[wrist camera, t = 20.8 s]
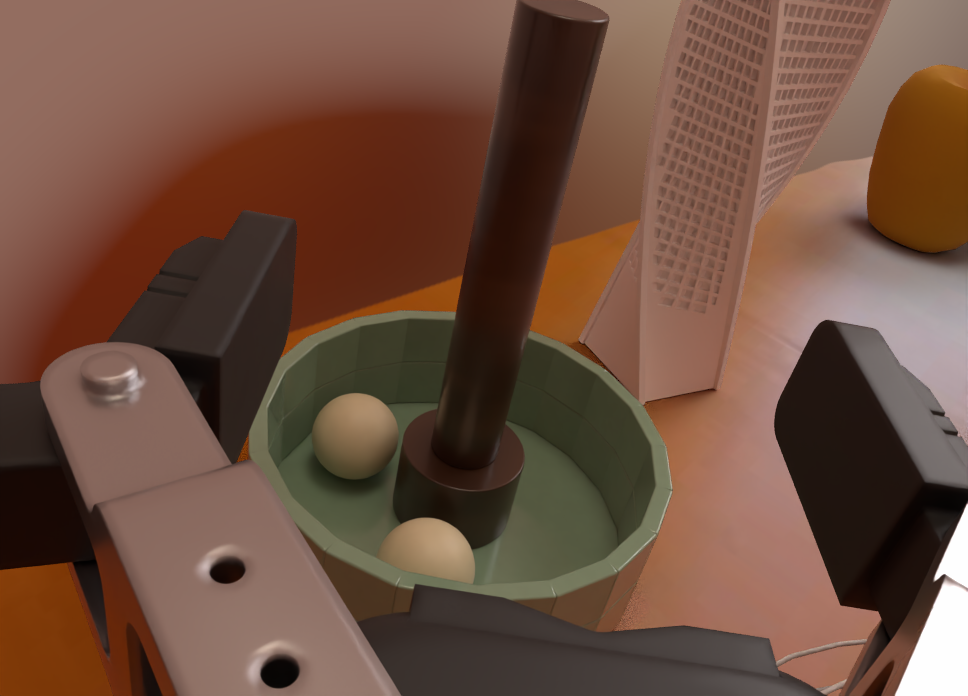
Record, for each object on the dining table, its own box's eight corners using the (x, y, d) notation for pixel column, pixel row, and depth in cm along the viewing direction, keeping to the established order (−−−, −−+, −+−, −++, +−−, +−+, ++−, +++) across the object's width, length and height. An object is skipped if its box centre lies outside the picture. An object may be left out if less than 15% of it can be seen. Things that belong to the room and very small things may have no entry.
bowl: (154, 577, 27) (147, 465, 24) (372, 366, 38) (384, 272, 35) (559, 789, 24) (605, 687, 21) (665, 489, 35) (705, 397, 32)
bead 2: (348, 609, 26) (358, 526, 25) (410, 563, 29) (422, 486, 28) (428, 660, 25) (442, 575, 24) (485, 607, 27) (501, 527, 26)
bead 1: (291, 435, 32) (321, 370, 30) (366, 443, 33) (397, 382, 32) (309, 494, 29) (342, 427, 28) (388, 500, 31) (423, 437, 30)
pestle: (370, 518, 30) (449, -7, 20) (425, 449, 33) (516, -26, 23) (480, 570, 29) (623, 45, 19) (525, 494, 32) (666, 16, 22)
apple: (1001, 251, 65) (1099, 90, 58) (959, 287, 58) (1064, 108, 50) (870, 194, 70) (944, 40, 63) (816, 220, 63) (893, 50, 56)
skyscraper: (546, 326, 44) (732, -356, 28) (656, 311, 47) (877, -303, 31) (632, 422, 38) (923, -358, 22) (749, 397, 42) (1072, -294, 26)
